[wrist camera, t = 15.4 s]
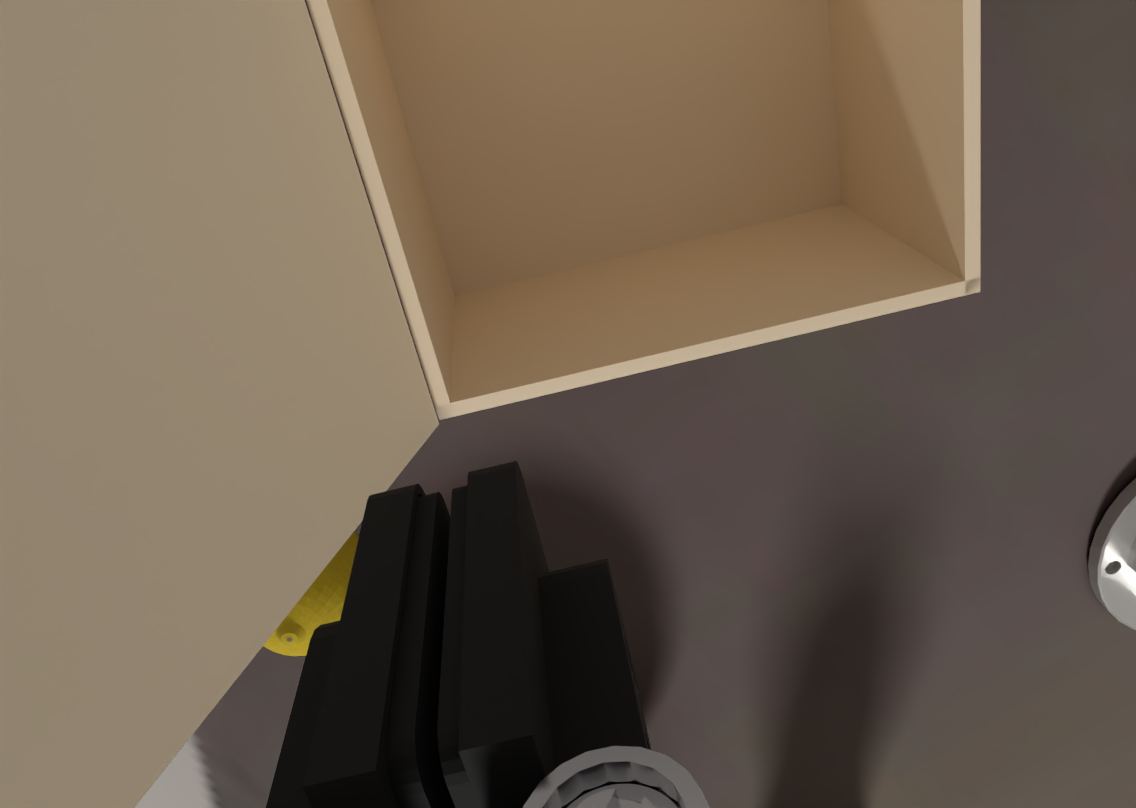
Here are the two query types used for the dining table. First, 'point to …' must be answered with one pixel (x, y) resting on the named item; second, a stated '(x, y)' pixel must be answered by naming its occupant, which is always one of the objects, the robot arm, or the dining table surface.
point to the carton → (655, 174)
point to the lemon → (316, 604)
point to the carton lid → (174, 371)
